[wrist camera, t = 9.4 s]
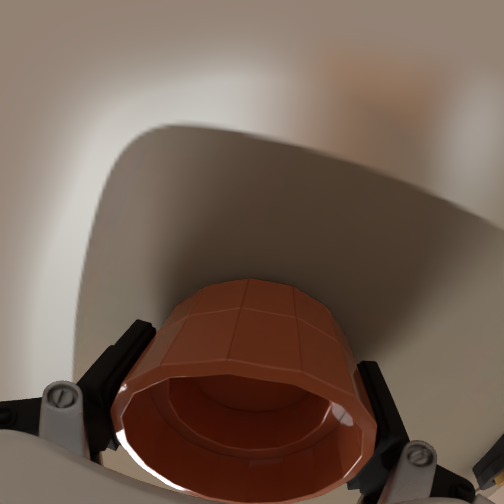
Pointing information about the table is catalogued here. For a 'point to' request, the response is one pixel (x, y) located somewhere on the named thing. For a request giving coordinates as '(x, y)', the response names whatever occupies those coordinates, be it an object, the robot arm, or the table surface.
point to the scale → (490, 466)
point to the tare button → (500, 479)
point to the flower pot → (247, 398)
